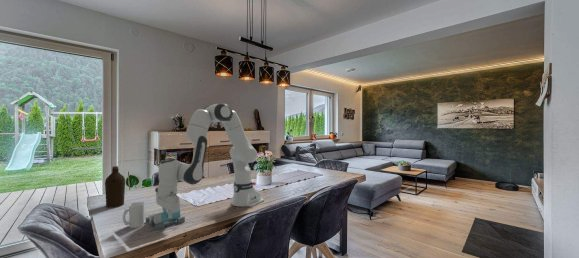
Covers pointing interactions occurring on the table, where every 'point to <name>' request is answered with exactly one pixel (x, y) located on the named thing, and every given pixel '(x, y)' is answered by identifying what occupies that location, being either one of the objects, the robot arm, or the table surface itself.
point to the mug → (135, 215)
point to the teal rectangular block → (165, 217)
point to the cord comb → (165, 223)
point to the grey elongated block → (151, 217)
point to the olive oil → (115, 188)
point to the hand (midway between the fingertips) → (167, 216)
